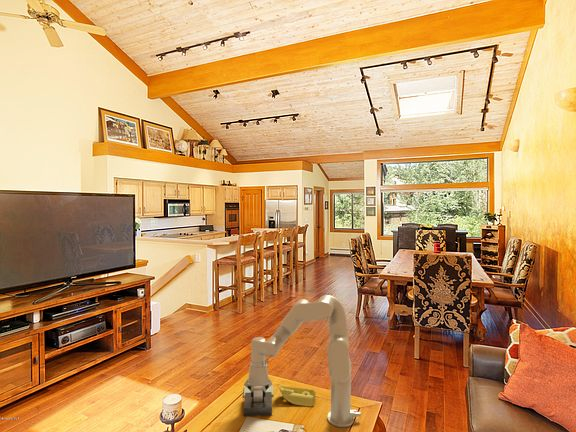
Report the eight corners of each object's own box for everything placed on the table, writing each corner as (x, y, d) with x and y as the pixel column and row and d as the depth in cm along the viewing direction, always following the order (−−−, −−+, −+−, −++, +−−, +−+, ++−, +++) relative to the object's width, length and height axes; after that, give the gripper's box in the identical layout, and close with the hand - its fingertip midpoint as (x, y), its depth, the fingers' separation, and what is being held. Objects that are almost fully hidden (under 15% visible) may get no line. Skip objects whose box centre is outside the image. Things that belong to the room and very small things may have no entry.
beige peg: (262, 404, 171) (262, 385, 171) (262, 410, 166) (262, 390, 166) (253, 405, 171) (253, 385, 171) (253, 410, 166) (253, 390, 166)
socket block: (271, 399, 176) (271, 391, 176) (272, 415, 162) (272, 407, 162) (245, 400, 175) (245, 392, 175) (243, 416, 161) (243, 408, 161)
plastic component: (314, 390, 182) (315, 390, 173) (313, 405, 178) (314, 407, 169) (279, 385, 183) (278, 386, 174) (277, 400, 180) (276, 402, 171)
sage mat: (272, 386, 189) (272, 384, 189) (273, 396, 179) (273, 394, 179) (244, 387, 188) (244, 385, 188) (243, 397, 178) (243, 395, 178)
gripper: (274, 359, 173) (274, 393, 173) (242, 359, 172) (242, 394, 172) (275, 365, 165) (274, 402, 165) (241, 366, 164) (240, 402, 164)
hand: (258, 397), depth 168 cm, fingers closed on beige peg, 4 cm apart
